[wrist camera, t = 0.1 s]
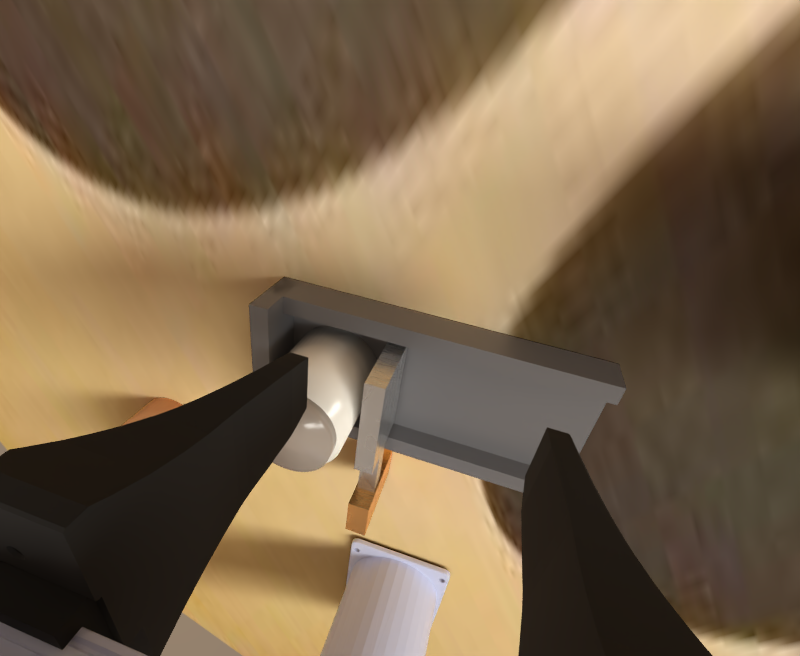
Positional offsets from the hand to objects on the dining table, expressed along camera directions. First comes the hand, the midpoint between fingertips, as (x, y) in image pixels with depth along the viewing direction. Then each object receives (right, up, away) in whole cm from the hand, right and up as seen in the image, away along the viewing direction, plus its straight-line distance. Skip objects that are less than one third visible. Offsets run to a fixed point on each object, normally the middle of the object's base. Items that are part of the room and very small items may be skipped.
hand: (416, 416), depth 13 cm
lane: (+1, 0, +12) cm, 12 cm away
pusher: (-1, -2, +14) cm, 14 cm away
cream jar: (-4, +1, +12) cm, 13 cm away
